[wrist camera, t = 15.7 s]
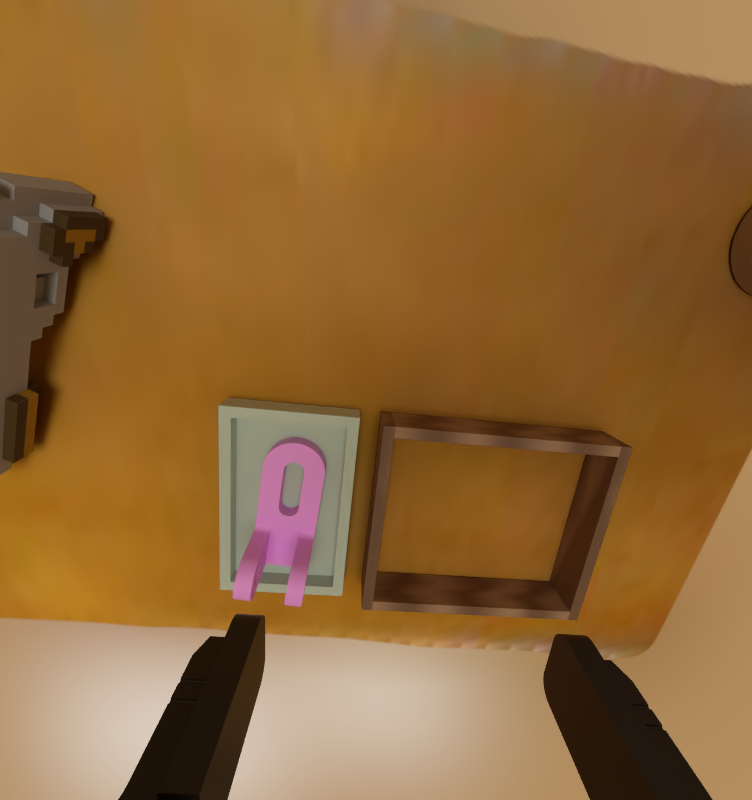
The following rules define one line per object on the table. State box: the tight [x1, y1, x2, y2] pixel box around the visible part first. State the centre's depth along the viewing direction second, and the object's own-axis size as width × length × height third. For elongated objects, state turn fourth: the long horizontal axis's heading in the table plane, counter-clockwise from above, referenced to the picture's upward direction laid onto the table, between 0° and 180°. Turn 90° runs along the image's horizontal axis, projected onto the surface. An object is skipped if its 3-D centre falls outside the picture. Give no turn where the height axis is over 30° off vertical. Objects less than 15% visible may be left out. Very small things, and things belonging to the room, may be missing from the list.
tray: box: [219, 398, 360, 596], centre depth 34 cm, size 12×19×2 cm, turn 174°
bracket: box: [233, 437, 326, 607], centre depth 31 cm, size 13×6×7 cm, turn 169°
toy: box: [0, 172, 107, 475], centre depth 28 cm, size 6×24×10 cm, turn 153°
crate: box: [361, 412, 632, 620], centre depth 35 cm, size 22×19×4 cm
